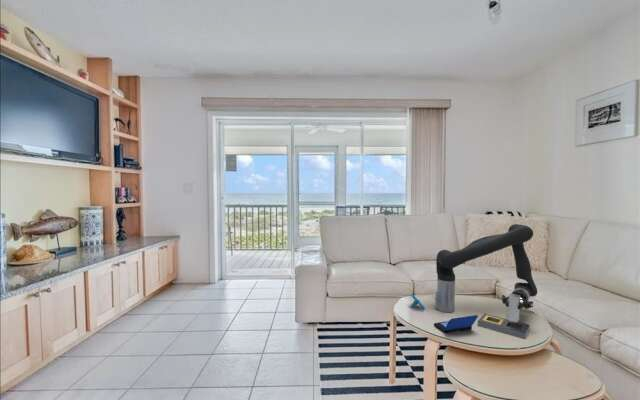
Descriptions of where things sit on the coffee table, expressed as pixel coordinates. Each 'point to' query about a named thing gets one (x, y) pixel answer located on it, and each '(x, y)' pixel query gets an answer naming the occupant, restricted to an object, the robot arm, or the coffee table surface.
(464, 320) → the handheld game console
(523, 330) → the plate with square holes
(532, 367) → the coffee table surface
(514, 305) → the brushed steel peg
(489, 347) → the coffee table surface
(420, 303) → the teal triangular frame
